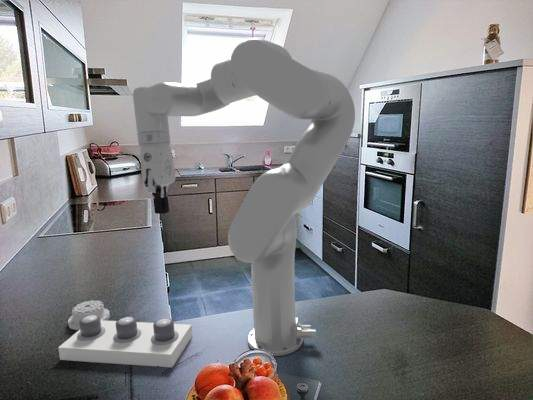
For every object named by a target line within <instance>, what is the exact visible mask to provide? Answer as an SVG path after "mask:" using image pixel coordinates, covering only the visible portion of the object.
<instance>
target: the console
mask: <svg viewBox="0 0 533 400" xmlns="http://www.w3.org/2000/svg"><path fill="white" fill-rule="evenodd" d="M100 321H101V328H102V330H101V332H100V333H98V334H97V335H94V336H91V337H83V336H81V332H80V330H76V332H75V333H74V334H72V335H71V336H70V337H69V338H68V339H67V340H65V341H64V342H63V343H61V344H60V345H59V346H58V355H59V359H60V361H73V362H87V363H100V364H101V363H102V364H112V365H113V364H115V365H116V364H117V365H131V366H132V365H133V366H146V367H157V366H159V367H161V368H173V367H174V366H175V364H176V362H177V361H178V360H179V358H180V356H181V355H182V353H183V352H184V350H185V349H186V346H187V345H188V344H189V343H190V341H191V339H192V338H193V329H192V327H193V326H192V324H183V323H174V331H175V336H174V337H173V338H172V339H170V340H167V341H157V340H155V338H154V328H153V324H154V323H155V322H145V321H144V322H143V321H141V322H140V321H136V322H137V331H138V332H137V334H136V335H135V336H134V337H132V338H129V339H119V338H118V337H117V332H116V322H117V321H118V320H107V321H105V320H100Z"/></svg>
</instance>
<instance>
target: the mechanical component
mask: <svg viewBox="0 0 533 400" xmlns="http://www.w3.org/2000/svg"><path fill="white" fill-rule="evenodd" d="M71 314H72V315H71V316H70V317H69V318H68V321H67V323H68V324H67V325H68V327H69V329H71V330H75V331H79V330H80V325H79V321H80V320H81V319H82V318H84V317H87V316H91V315H97V316H99V317H100V320H105V321H109V319H110V317H111V314H110V310H109V309H108V308H105V306H104V302H103V301H102V300H100V299H99V300H93V299H91V300H89V301H83V302H80V303H78V304H76V306H74V307H72V309H71Z"/></svg>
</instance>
